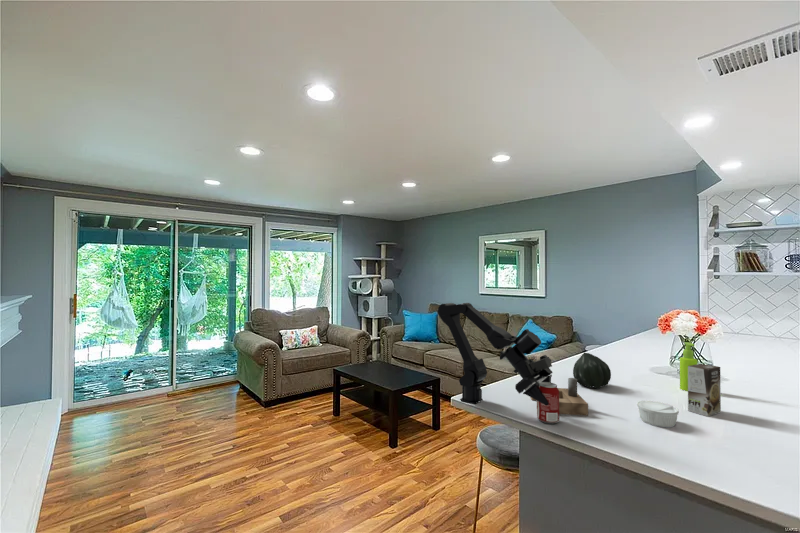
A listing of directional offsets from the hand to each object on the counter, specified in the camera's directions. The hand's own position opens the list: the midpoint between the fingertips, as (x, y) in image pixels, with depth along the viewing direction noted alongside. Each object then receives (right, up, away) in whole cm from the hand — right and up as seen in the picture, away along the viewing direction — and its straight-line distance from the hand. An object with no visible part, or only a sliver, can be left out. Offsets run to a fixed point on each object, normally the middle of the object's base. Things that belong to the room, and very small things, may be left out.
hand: (552, 401), depth 122 cm
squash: (+34, -8, +40) cm, 53 cm away
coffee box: (+58, -7, +10) cm, 59 cm away
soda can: (-1, -7, +1) cm, 7 cm away
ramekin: (+35, -7, +1) cm, 36 cm away
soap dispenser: (+72, -8, +35) cm, 80 cm away
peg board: (+8, -7, +15) cm, 19 cm away
